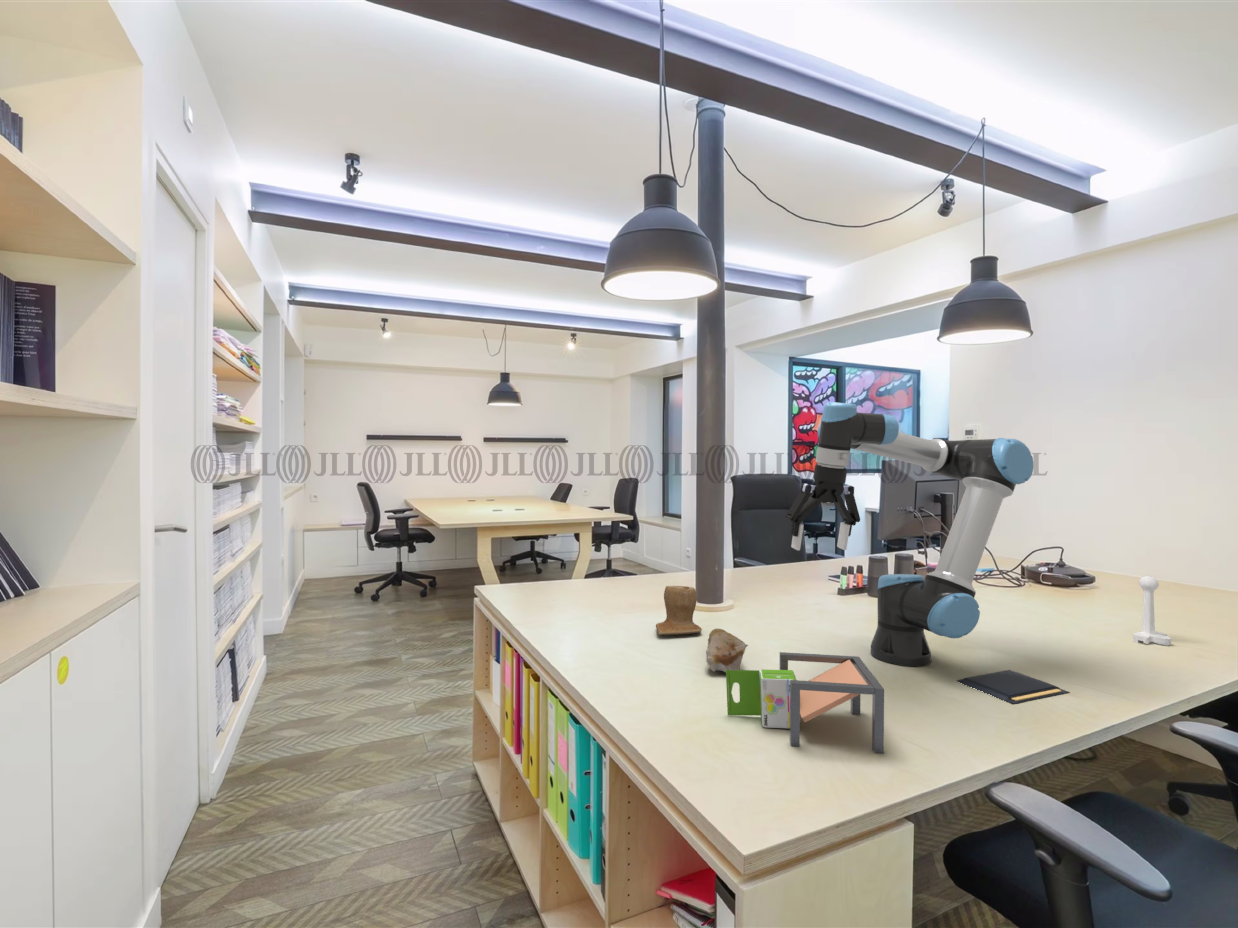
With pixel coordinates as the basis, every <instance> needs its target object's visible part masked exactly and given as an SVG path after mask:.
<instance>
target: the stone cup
mask: <svg viewBox="0 0 1238 928" xmlns="http://www.w3.org/2000/svg"><path fill="white" fill-rule="evenodd" d="M663 592H664V593H663V600H664V607H665V614H666V618H665V620H664V621H663V622H662V621H661V622H657V623H656V624H655V628H656V634H657V636H679V635H680V636H681V635H689V634H690V635H691V634H697V633H701V632H702V629H703V628H701V627H700V626H699V625H697V624H696V623H694V621H693V618H694V613H695V609H696V606H697V590H696V588H695V587H693V586H688V585H686V586H685V585H666V586H665V588H664V591H663Z"/></svg>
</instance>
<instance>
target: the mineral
mask: <svg viewBox="0 0 1238 928" xmlns="http://www.w3.org/2000/svg"><path fill="white" fill-rule="evenodd" d="M708 636H709V637H708V639H707V641H708V643H707V645H708V646H707V649H706V651H705V652H706V662H707V665H708V666H709V670H711V671H712V672H716V671H720V672H721V671H722V672H723V673H726V670H740V667H741V663H742V660H743V657H744V654H745V651H746V649H747V647H749V645H748V644H746V643H745V642H744V641H743V640H742V639H740V638H738V637H737V636H735V635H734V634H732V633H731V632H728V631H726V630H725V629H722V628H714V629H711V631H710V633H709V635H708Z"/></svg>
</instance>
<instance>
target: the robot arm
mask: <svg viewBox="0 0 1238 928" xmlns="http://www.w3.org/2000/svg"><path fill="white" fill-rule="evenodd" d="M857 409H858V407H857V405H856V404H855V403H846V402H837V401H836V402H835V401H828V402H826V403H825V404H824V406H823V409H822V414H821V419H820V423H819V425H818V426H817V427H818V428H817V437H818V443H817V449H816V456H815V462H816V463H817V464H815V465H814V470H813V484H808V483H805V482H803V483H801V487H800V490H799V493H798V495H797V496H796V498H795V499H794V501H793V502H792V504H791V507H790V508H789V509H788V511H787V513H786V515H785V516H784V517H785V519H786V520H788V521H790V522H791V528H790V536H792V538H791V545H790V548H792V549H793V550H796V551H801V546H802V539H803V533H804V524H802V523H803V521H805V519H807V517H808V516H809V515H810V514H811V513H812V512H813V510H815V508H816V507H817V506H818V505H821V503H822V504H828V503H829V504H834V507H835V508H836V510H837V511H838V513H839V515H840V517H841V519H842V520H843V521H841V522H840V524H839V530H838V537H837V543H836V547H837V548H839V549H840V550H843V551H846V550H847V549H848V543H849V537H851V534H852V528H853V526H856V524H857V523H859V522H861V516H860V513H859V509H858V505H857V501H856V498H855V487H854V486H852V485H850V484H847V483H846V481H847V473H848V469H847V468H846V467H847V466H849V460H850V454H851V449H852V450H856V451H860V452H865V453H868V454H873V455H876V456H880V457H883V458H888V459H893V460H896V461H899V462H900V461H901V462H905V463H909V464H913V465H917V466H921V467H922V469H923V470H925V471H926V472H930V473H934V474H936V475H940V476H944V477H948V478H950V479H954V480H957V481H962V484H963V485H964V486H965V491H964V493H963V496H962V498H961V500H960V503H959V505H958V506H959V507H958V508H957V509H958V510H957V512H956V514H955V517H954V520H953V522H952V525H951V527H950V530H949V533H948V534H947V535H948V536H947V538H946V541H945V543H944V546H943V547H942V551H941V553H940V556H939V559H938V562H937V565H936V567H935V569H934V570H933V571H931V572H929V573H926V574H925V576H924V575H922V574H912V573H893V574H889V573H888V574H882V575H880V576H879V578H878V581H877V588H876V590H877V627H876V630H875V633H874V635H873V638H872V641H871V644H870V655H871V656H872V657H874V658H875V659H877V660H879V661H882V662H885V663H887V664H892V665H899V666H906V667H907V666H908V667H923V666H926V665H929V664H931V663H932V653H931V650H930V646H929V643H928V640H927V637H926V635H925V631H928V632H931V633H932V634H934V635H937V636H940V637H946V638H948V639H960V638H963V637H964V636H967V635H968V634H970V633H971V632H972V631H973V630H974V629H975V627H977V624H978V623H979V619H980V615H981V611H980V610H979V608H980V605H979V602H978V601H977V599H975V597H976V594H977V591H976V590H975V588H974V587H973V581H974V578H975V576H976V573H977V570H978V568H979V566H980V563H981V559H982V557H983V554H984V553H985V552H984V551H985V548H986V545H987V544H988V540H989V538H990V535H991V532H992V530H993V528H994V524H995V521H996V520H997V517H998V514H999V511H1000V508H1001V506H1002V503H1003V500H1004V499H1006V498H1008V497H1011V496H1012V495H1013V494H1014V491H1015V488H1016V486H1017V485H1021V484H1024V483H1026V482H1027V481H1029V480H1030V479H1031V477H1032V475H1033V472H1034V465H1035V464H1034V458H1033V457H1034V456H1032V452H1031V450H1030V448H1029V447H1028V446H1027V445H1026V444H1025V443H1024V442H1023V441H1021V440H1019V439H1017V438H1005V437H999V438H990V439H989V438H985V439H961V440H946V439H940V438H932V439H926V438H924V437H920V436H919V437H918V436H915V435H910V434H907V433H905V432H904V433H903V432H900V431H899V430H900V429H899V428H900V425H899V422H898V420H897V419H896V417H894V416H892V415H890V414H885V413H871V412H869V413H868V412H858V410H857ZM845 483H846V484H845ZM842 494H843V497H842V496H841V495H842ZM843 498H844V500H843Z"/></svg>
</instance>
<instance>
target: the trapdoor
mask: <svg viewBox="0 0 1238 928" xmlns="http://www.w3.org/2000/svg"><path fill="white" fill-rule="evenodd" d="M808 681H815V682H831V683H847V684H862V685H868V684H867V683H866V682H865V680H864V679H863V678H862V676H861V675H860V674H859V672H858V671H857V670H856V668H855V667H854V665H853V664H852V663H851V661H850V660H847V661H845V662H843V663H841V664H840V663H838V665H836V666H833V667H832V668H830V669H828V670H826V671H825V672H823V673H821V674H818V675H817V676H815V677H813V678H810V679H809V680H808ZM858 695H860V696H861V694H854V693H839V692H824V691H809V690H800V718H801V719H802V720H803V722H804V723H807V722H809V721H811V720H813V719H814V718H817V717H819V716H821V715H823V714H825V713H827V712H828V711H830V710H832V709H834V708H836V707H838V706H840V705H842V704H845V703H846V702H848V701H851V699H852V698H854V697H856V696H858Z"/></svg>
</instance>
